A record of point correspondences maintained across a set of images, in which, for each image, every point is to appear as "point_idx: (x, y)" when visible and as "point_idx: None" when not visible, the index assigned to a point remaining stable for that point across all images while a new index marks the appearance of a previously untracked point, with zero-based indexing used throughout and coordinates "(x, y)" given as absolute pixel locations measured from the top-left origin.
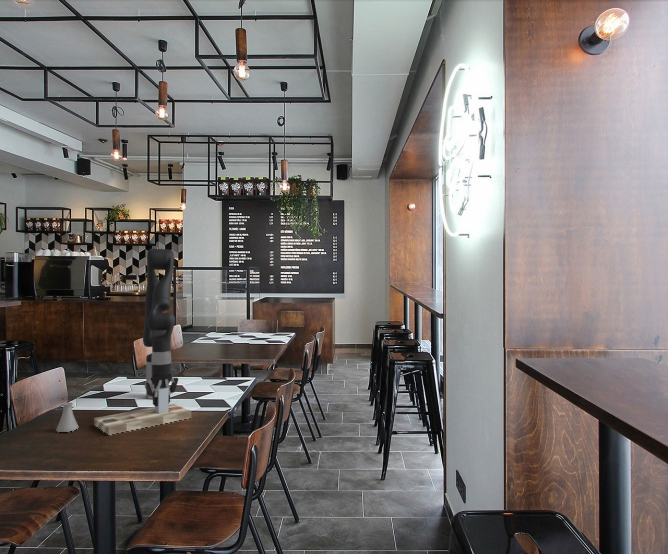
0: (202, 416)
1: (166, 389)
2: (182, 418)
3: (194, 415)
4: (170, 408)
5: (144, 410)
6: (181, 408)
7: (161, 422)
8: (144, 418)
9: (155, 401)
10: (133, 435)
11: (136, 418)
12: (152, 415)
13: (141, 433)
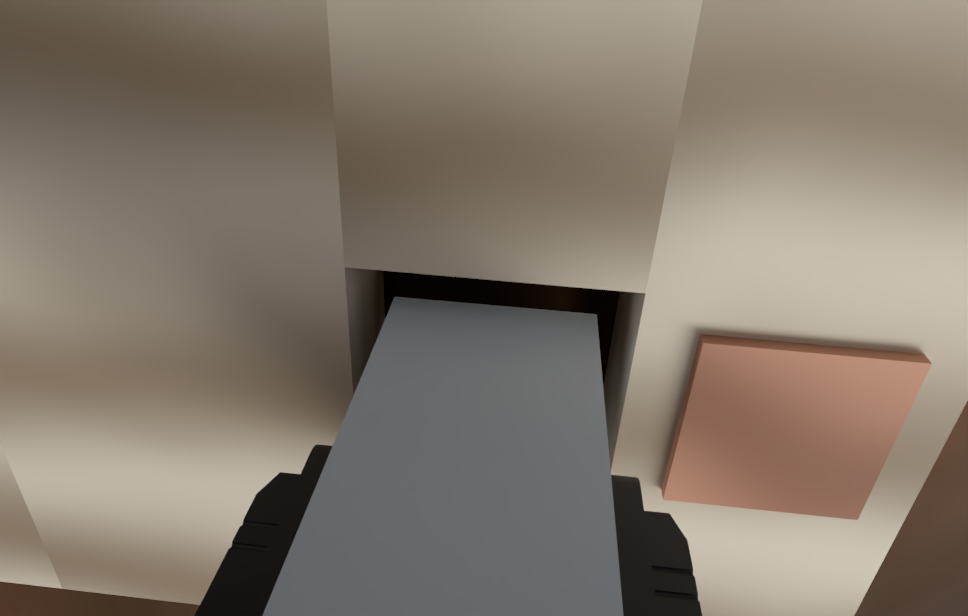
0: (954, 599)
1: None
2: None
3: (943, 506)
4: (700, 407)
5: (229, 91)
6: (845, 512)
7: None
8: (117, 537)
9: None
10: (21, 600)
11: (7, 467)
12: None
13: (100, 604)
